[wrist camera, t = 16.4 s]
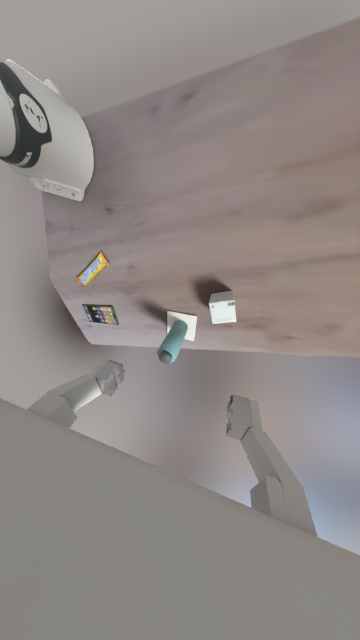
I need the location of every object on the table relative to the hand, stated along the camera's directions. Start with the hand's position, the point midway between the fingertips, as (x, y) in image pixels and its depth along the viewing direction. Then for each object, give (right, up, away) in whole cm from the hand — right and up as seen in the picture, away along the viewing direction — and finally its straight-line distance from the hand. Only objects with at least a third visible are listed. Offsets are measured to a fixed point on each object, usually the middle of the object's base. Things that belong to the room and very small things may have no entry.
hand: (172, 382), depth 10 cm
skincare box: (+13, +10, +31) cm, 35 cm away
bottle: (+1, +2, +39) cm, 39 cm away
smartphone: (-31, +7, +48) cm, 58 cm away
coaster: (+1, +3, +39) cm, 39 cm away
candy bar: (-29, +22, +39) cm, 53 cm away
